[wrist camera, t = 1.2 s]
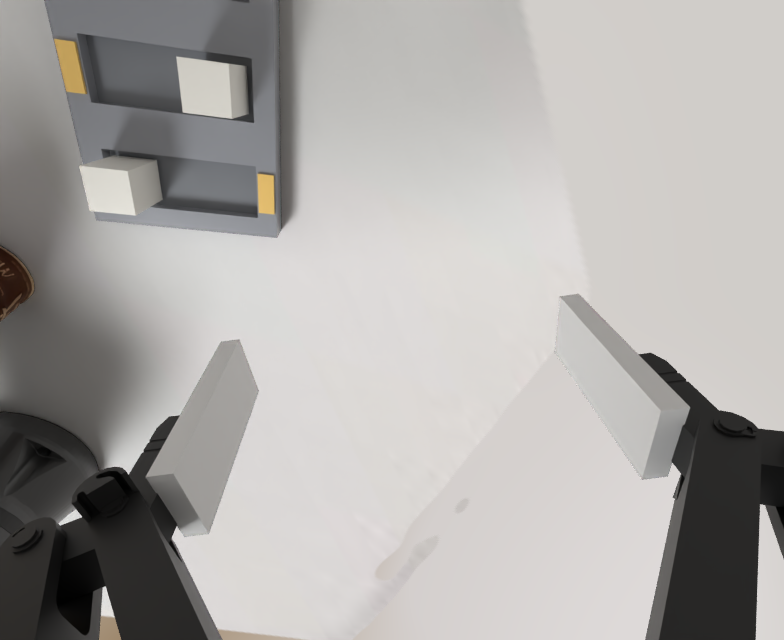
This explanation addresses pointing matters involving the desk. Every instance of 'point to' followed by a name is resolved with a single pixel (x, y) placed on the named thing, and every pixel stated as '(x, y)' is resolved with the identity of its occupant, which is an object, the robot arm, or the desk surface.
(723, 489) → the robot arm
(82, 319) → the desk surface
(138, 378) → the desk surface
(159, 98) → the switch board
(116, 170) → the tab
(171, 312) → the desk surface
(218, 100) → the tab
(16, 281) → the coffee cup
